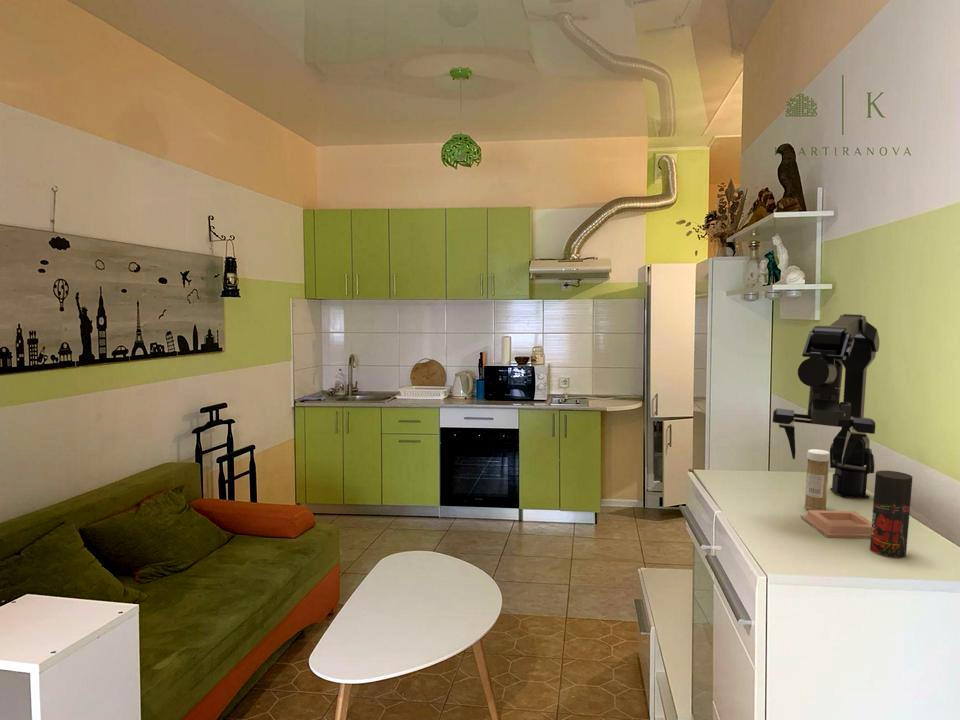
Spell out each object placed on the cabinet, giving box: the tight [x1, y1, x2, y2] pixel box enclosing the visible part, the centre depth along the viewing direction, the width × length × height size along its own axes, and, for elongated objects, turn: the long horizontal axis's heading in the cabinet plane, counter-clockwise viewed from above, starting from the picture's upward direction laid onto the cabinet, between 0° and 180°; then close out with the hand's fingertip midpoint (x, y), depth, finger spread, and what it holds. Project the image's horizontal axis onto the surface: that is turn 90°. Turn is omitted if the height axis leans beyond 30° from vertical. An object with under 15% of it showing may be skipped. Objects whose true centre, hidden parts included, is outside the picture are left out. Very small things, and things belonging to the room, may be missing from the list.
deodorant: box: [869, 470, 914, 559], centre depth 130 cm, size 6×6×15 cm
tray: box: [799, 509, 872, 539], centre depth 143 cm, size 12×12×2 cm
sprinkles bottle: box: [804, 448, 830, 511], centre depth 155 cm, size 5×5×13 cm
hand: (817, 462), depth 142 cm, fingers open, 9 cm apart
